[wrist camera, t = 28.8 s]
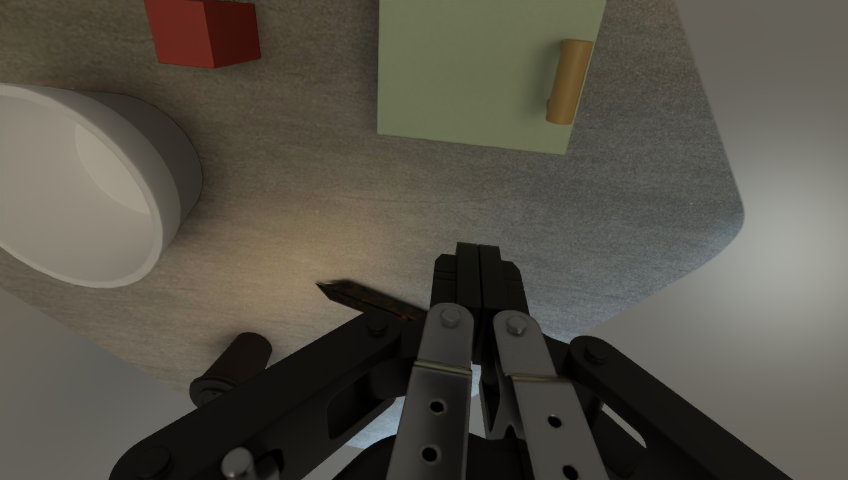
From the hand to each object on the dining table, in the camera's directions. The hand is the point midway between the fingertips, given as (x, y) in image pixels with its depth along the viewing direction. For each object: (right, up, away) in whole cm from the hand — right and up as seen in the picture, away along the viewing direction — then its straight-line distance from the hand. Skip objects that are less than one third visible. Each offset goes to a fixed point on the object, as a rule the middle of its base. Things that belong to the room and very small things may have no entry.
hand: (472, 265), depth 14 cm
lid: (+3, +14, +15) cm, 21 cm away
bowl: (-33, +10, +29) cm, 45 cm away
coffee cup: (-26, -14, +43) cm, 52 cm away
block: (-19, +20, +22) cm, 35 cm away
